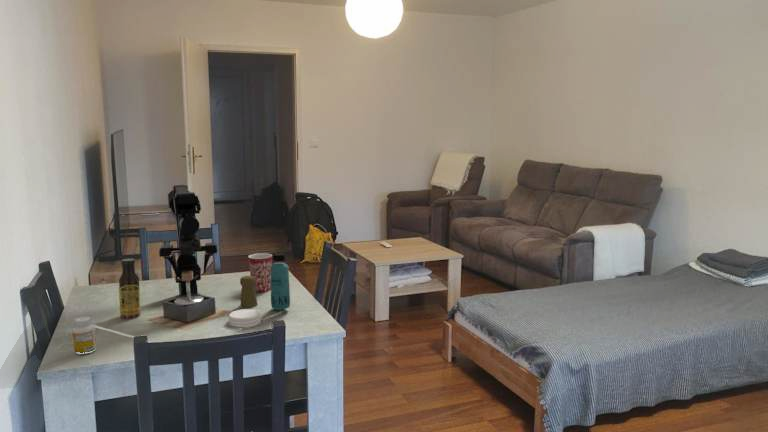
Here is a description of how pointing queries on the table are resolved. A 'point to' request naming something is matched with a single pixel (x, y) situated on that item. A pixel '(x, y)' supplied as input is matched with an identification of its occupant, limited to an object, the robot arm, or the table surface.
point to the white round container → (244, 318)
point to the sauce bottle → (129, 291)
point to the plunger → (188, 291)
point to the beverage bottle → (279, 283)
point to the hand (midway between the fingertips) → (190, 273)
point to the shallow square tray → (189, 309)
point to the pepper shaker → (248, 292)
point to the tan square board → (184, 326)
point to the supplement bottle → (84, 335)
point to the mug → (261, 271)
